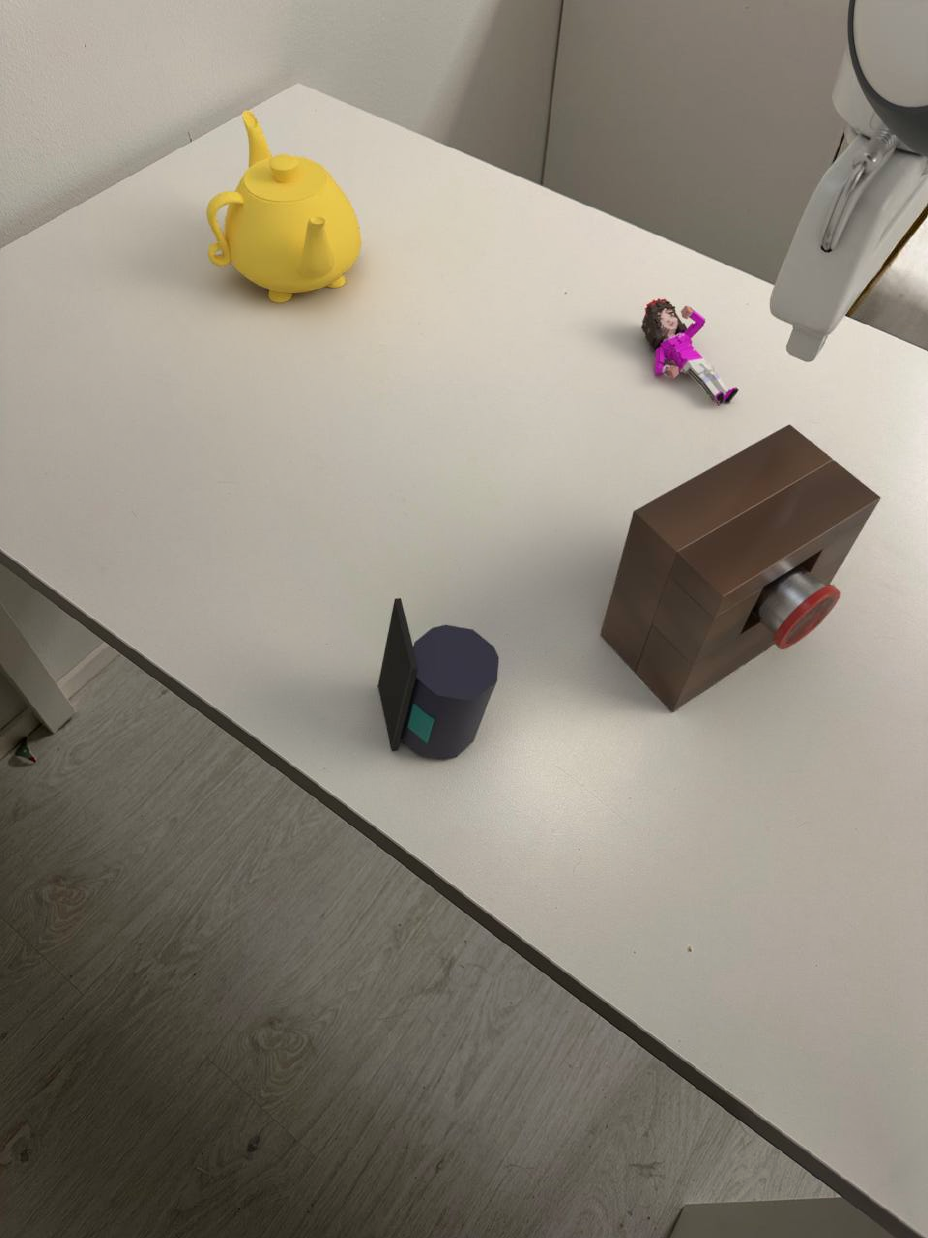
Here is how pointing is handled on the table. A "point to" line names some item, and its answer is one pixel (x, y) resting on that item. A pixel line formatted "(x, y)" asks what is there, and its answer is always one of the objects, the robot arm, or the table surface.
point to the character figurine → (681, 348)
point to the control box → (727, 560)
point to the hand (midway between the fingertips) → (833, 311)
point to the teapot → (285, 223)
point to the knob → (794, 605)
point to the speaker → (435, 686)
